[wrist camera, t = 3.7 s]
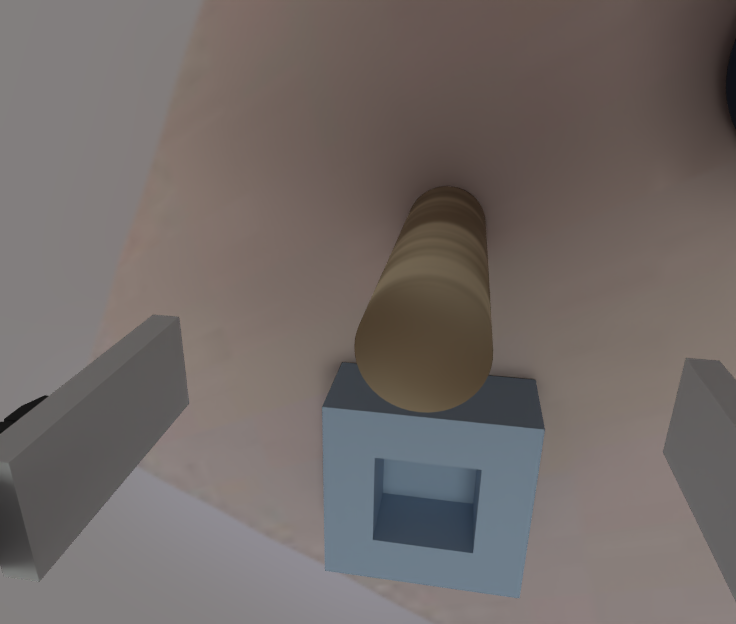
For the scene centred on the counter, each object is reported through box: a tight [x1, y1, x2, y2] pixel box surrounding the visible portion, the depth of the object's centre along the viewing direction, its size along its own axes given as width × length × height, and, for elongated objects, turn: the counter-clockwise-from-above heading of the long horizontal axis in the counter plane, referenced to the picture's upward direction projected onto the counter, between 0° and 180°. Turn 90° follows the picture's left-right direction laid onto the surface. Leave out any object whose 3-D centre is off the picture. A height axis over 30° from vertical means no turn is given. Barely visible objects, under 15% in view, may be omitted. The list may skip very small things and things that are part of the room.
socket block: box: [322, 362, 545, 598], centre depth 34 cm, size 11×11×5 cm
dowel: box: [355, 186, 493, 413], centre depth 24 cm, size 4×4×15 cm
